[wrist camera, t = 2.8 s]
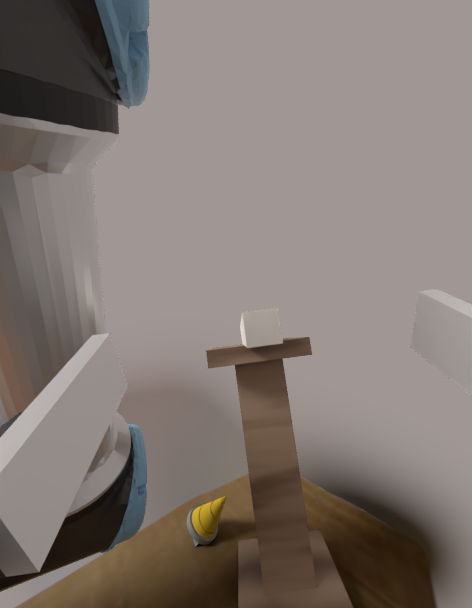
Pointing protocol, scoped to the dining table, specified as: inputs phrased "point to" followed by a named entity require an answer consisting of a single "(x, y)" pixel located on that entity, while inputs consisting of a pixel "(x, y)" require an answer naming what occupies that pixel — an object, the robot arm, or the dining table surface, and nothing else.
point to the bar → (261, 328)
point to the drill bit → (205, 521)
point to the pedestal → (277, 490)
